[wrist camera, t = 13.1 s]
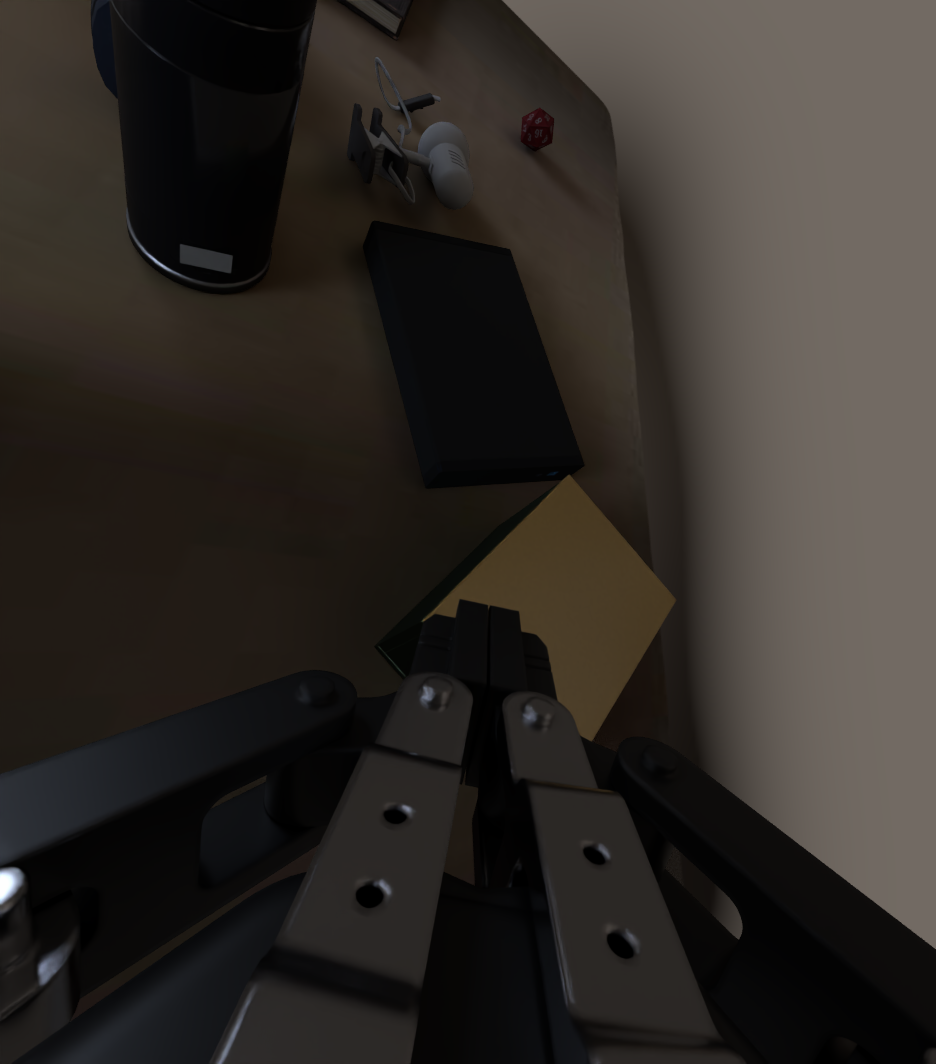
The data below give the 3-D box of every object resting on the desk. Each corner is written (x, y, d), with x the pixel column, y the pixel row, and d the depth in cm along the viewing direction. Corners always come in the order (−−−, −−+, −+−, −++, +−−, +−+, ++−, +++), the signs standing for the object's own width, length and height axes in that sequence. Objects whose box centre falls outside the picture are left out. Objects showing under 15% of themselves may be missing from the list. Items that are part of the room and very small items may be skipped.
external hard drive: (496, 272, 54) (511, 249, 51) (565, 480, 48) (586, 465, 45) (362, 248, 46) (372, 219, 44) (424, 489, 41) (440, 472, 38)
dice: (538, 164, 65) (558, 133, 61) (509, 140, 63) (527, 106, 60) (546, 151, 67) (565, 120, 63) (517, 127, 65) (535, 94, 62)
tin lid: (564, 477, 36) (569, 474, 36) (670, 602, 37) (677, 599, 36) (421, 620, 28) (426, 618, 27) (562, 779, 28) (569, 780, 28)
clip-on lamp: (340, 112, 56) (350, 198, 46) (350, 36, 51) (363, 114, 41) (445, 147, 60) (473, 232, 51) (464, 80, 55) (498, 160, 46)
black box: (499, 525, 43) (559, 482, 36) (590, 630, 43) (666, 607, 36) (373, 646, 35) (421, 621, 28) (487, 774, 35) (561, 779, 28)
